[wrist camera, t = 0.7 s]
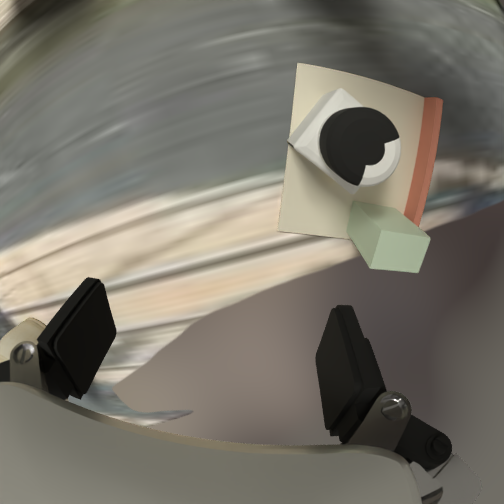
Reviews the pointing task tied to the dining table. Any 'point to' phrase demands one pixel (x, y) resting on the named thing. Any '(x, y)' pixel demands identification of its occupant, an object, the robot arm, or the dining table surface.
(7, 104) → the dining table surface
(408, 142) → the cream flat block
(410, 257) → the tea box
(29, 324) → the jug
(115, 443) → the robot arm
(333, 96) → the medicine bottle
